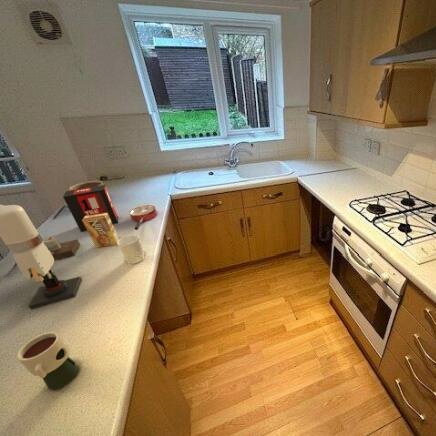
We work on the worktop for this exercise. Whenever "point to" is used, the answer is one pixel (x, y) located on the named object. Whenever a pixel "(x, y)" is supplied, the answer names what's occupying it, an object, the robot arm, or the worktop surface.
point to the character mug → (48, 360)
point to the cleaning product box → (89, 204)
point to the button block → (56, 293)
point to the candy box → (100, 230)
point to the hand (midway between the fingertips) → (53, 285)
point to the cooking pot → (86, 185)
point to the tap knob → (52, 244)
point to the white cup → (131, 248)
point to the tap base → (66, 250)
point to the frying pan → (142, 214)
